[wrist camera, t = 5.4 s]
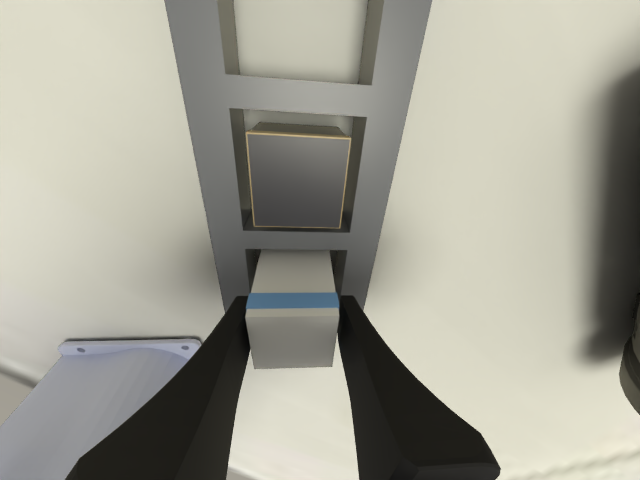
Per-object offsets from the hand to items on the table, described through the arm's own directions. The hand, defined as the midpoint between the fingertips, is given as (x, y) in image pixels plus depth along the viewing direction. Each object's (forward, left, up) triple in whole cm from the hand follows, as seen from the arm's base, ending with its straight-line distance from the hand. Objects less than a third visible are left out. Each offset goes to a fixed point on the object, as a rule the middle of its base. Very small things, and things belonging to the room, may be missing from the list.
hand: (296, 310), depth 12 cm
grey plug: (0, 0, -4) cm, 4 cm away
